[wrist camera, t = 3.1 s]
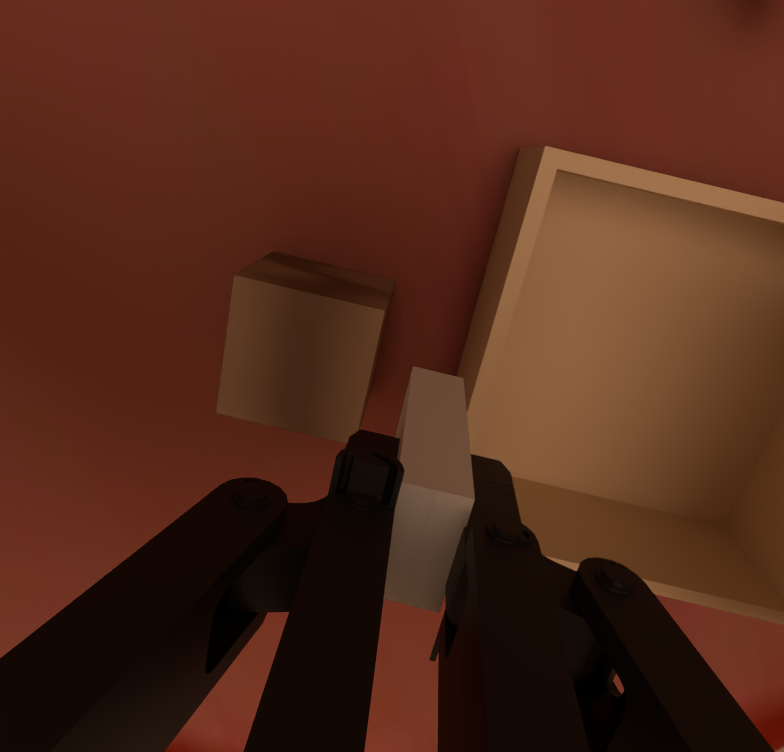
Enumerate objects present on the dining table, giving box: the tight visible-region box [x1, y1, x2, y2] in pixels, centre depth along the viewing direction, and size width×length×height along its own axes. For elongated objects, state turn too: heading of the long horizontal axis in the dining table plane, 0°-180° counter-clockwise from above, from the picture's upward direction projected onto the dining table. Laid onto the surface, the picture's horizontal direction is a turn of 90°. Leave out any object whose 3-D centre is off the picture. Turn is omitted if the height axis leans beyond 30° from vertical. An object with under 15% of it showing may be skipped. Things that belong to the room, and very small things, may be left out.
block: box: [216, 252, 396, 444], centre depth 27 cm, size 6×6×6 cm
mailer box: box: [456, 146, 784, 625], centre depth 26 cm, size 16×16×7 cm
